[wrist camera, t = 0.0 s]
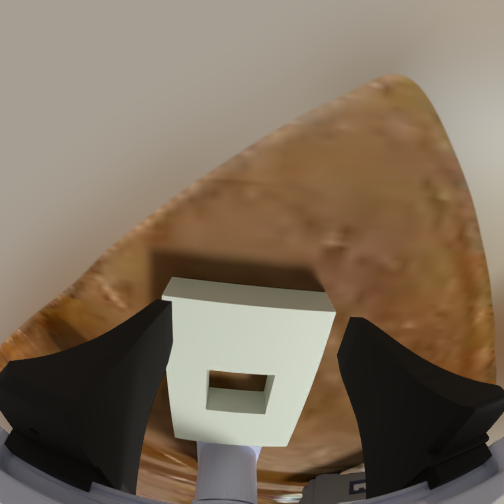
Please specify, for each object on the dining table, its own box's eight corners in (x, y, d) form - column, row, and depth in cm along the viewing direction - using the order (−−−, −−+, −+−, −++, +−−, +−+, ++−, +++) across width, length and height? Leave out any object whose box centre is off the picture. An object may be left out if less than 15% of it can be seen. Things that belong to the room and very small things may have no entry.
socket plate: (283, 426, 28) (286, 446, 25) (179, 417, 27) (174, 437, 24) (325, 292, 22) (336, 312, 19) (172, 276, 21) (161, 295, 18)
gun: (315, 435, 42) (294, 506, 30) (452, 418, 30) (451, 498, 18) (320, 442, 43) (300, 510, 30) (450, 426, 31) (449, 501, 19)
